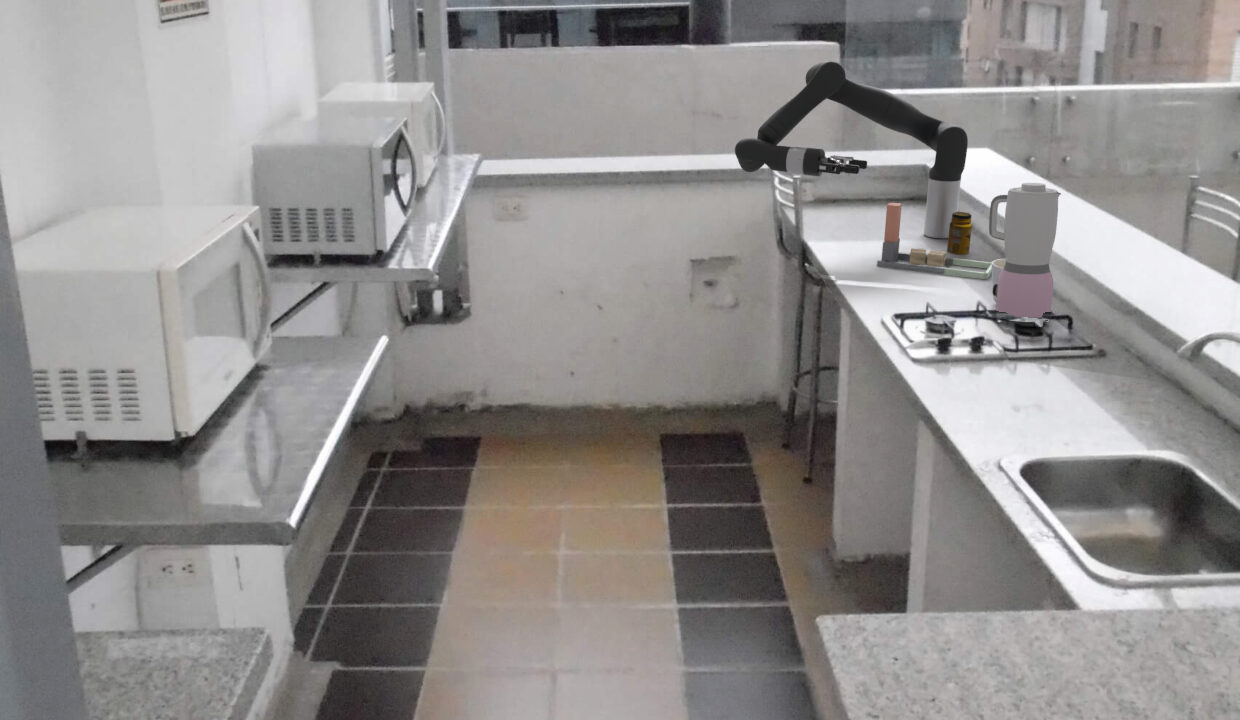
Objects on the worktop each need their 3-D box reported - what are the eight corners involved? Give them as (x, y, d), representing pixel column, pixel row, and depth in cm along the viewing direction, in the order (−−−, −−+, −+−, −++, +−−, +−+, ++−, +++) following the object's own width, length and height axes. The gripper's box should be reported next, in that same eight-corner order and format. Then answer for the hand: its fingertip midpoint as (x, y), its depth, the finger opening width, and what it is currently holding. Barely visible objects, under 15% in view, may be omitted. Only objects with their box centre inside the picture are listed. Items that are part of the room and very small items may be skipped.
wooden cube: (909, 262, 324) (911, 248, 322) (925, 263, 322) (926, 249, 321) (909, 266, 320) (910, 251, 319) (924, 267, 319) (925, 253, 318)
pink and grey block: (886, 258, 328) (891, 201, 322) (898, 259, 326) (903, 202, 321) (880, 263, 322) (885, 205, 317) (892, 265, 321) (897, 207, 315)
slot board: (887, 259, 331) (888, 250, 330) (952, 267, 323) (953, 258, 322) (876, 269, 320) (877, 260, 320) (943, 277, 313) (944, 268, 312)
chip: (929, 264, 322) (931, 250, 320) (944, 266, 320) (946, 251, 319) (926, 268, 318) (927, 253, 317) (941, 269, 317) (943, 255, 315)
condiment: (975, 256, 334) (979, 214, 330) (954, 260, 330) (959, 218, 326) (955, 250, 340) (959, 209, 336) (934, 255, 336) (938, 213, 332)
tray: (952, 267, 323) (953, 258, 322) (994, 271, 319) (995, 262, 318) (943, 277, 313) (944, 268, 312) (986, 282, 308) (987, 273, 308)
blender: (1057, 319, 277) (1070, 182, 269) (1041, 330, 268) (1054, 189, 259) (991, 311, 286) (1001, 178, 278) (973, 321, 277) (983, 184, 268)
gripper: (798, 151, 321) (857, 157, 315) (813, 144, 334) (870, 149, 327) (796, 178, 324) (854, 185, 318) (811, 170, 336) (868, 176, 330)
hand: (862, 167), depth 322 cm, fingers open, 8 cm apart
